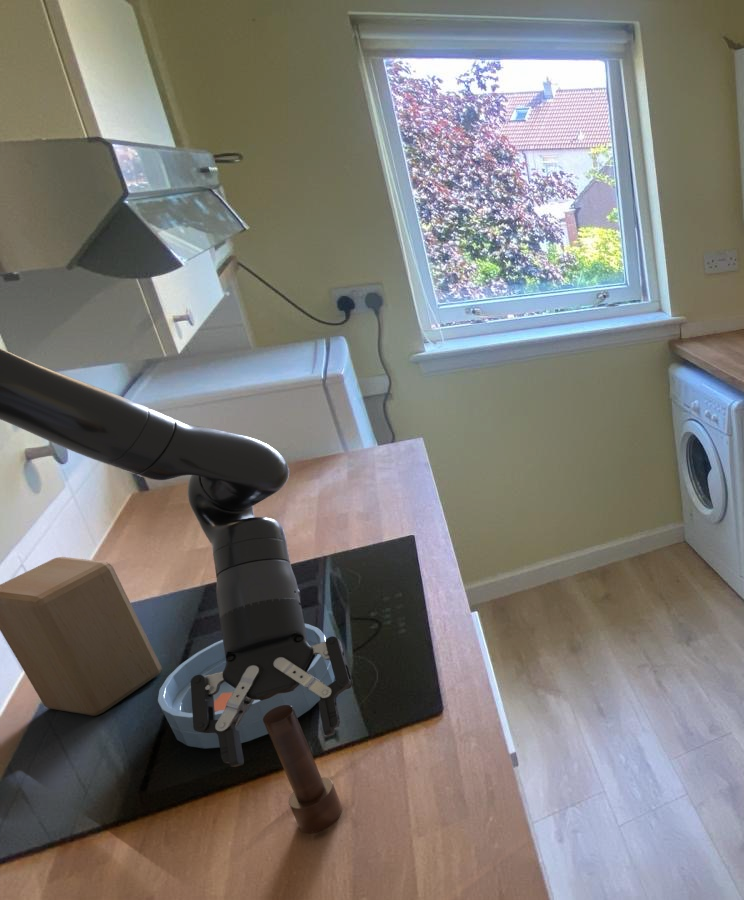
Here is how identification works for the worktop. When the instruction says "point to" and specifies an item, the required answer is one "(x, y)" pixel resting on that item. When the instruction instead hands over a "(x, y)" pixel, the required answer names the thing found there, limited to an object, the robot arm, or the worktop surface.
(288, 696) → the bowl
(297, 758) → the pestle
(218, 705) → the block
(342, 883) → the worktop surface
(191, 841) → the worktop surface
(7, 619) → the wooden block
